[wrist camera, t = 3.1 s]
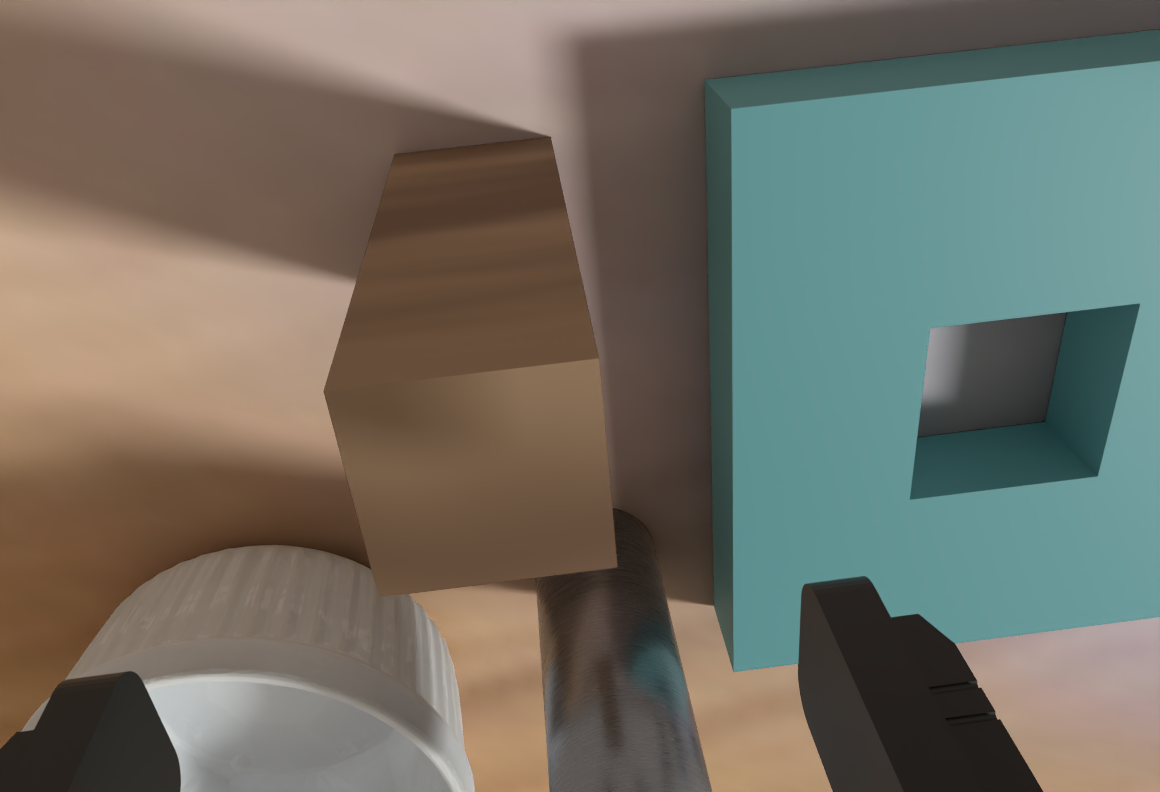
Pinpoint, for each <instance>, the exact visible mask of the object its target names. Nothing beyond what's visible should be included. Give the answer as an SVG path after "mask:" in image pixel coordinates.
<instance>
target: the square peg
mask: <svg viewBox="0 0 1160 792" xmlns="http://www.w3.org/2000/svg"><path fill="white" fill-rule="evenodd" d="M324 395H325V398H326V402H327V406H328V410H329V413H330V417H331V421H332V425H333V428H334V432H335V436H336V439H337V443H338V447H339V451H340V454H341V458H342V462H343V466H344V469H345V473H346V477H347V480H348V484H349V488H350V492H351V495H352V499H353V503H354V507H355V510H356V514H357V518H358V521H359V525H360V529H361V533H362V536H363V540H364V544H365V548H366V551H367V555H368V559H369V562H370V566H371V570H372V574H373V577H374V581H375V585H376V589H377V592H378V596H379V597H386V596H394V595H402V594H410V593H418V592H426V591H434V590H442V589H450V588H458V587H466V586H474V585H482V584H490V583H498V582H506V581H514V580H521V579H529V578H537V577H545V576H553V575H561V574H569V573H577V572H585V571H593V570H601V569H609V568H617V567H618V566H617V555H616V544H615V532H614V521H613V510H612V499H611V487H610V476H609V465H608V453H607V442H606V431H605V419H604V408H603V397H602V386H601V374H600V363H599V356H598V351H597V347H596V342H595V337H594V333H593V328H592V324H591V319H590V315H589V310H588V306H587V301H586V296H585V292H584V287H583V283H582V278H581V274H580V269H579V264H578V260H577V255H576V251H575V246H574V242H573V237H572V232H571V228H570V223H569V219H568V214H567V210H566V205H565V201H564V196H563V191H562V187H561V182H560V178H559V173H558V169H557V164H556V159H555V155H554V150H553V146H552V141H551V137H545V138H537V139H528V140H519V141H510V142H501V143H492V144H483V145H474V146H465V147H456V148H448V149H439V150H430V151H421V152H412V153H403V154H395V155H394V158H393V161H392V165H391V168H390V171H389V175H388V178H387V181H386V185H385V188H384V191H383V195H382V198H381V201H380V205H379V208H378V211H377V215H376V218H375V221H374V225H373V228H372V231H371V235H370V238H369V241H368V245H367V248H366V251H365V255H364V258H363V261H362V265H361V268H360V271H359V275H358V278H357V281H356V285H355V288H354V291H353V295H352V298H351V301H350V305H349V308H348V311H347V315H346V318H345V321H344V325H343V328H342V331H341V335H340V338H339V341H338V345H337V348H336V351H335V355H334V358H333V361H332V365H331V368H330V371H329V375H328V378H327V381H326V385H325V388H324Z"/></svg>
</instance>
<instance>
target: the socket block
mask: <svg viewBox="0 0 1160 792" xmlns="http://www.w3.org/2000/svg"><path fill="white" fill-rule="evenodd" d="M705 133H706V187H707V242H708V296H709V350H710V405H711V459H712V514H713V568H714V608H715V611H716V615H717V618H718V621H719V625H720V628H721V631H722V635H723V638H724V641H725V645H726V648H727V651H728V655H729V658H730V662H731V665H732V668H733V672H738V671H745V670H753V669H761V668H769V667H776V666H784V665H792V664H798V659H799V635H800V611H801V592H802V588H803V586H804V584H807V583H815V582H822V581H830V580H837V579H845V578H852V577H860V576H866V577H867V578H869V579H870V581H871V582H872V583H873V585H874V587H875V588H876V590H877V592H878V594H879V596H880V598H881V600H882V602H883V603H884V605H885V607H886V609H887V611H888V613H889V615H890V616H891V617H897V616H905V615H912V614H919V615H921V616H922V617H923V618H924V619H926V620H927V621H928V622H929V623H930V624H932V625H933V626H934V627H935V628H937V629H938V630H939V631H940V632H941V633H943V634H944V635H945V636H946V637H948V638H949V639H950V640H951V641H952V642H954V643H962V642H970V641H978V640H985V639H993V638H1001V637H1008V636H1016V635H1024V634H1032V633H1039V632H1047V631H1055V630H1063V629H1070V628H1078V627H1086V626H1094V625H1101V624H1109V623H1117V622H1125V621H1132V620H1140V619H1148V618H1155V617H1160V29H1158V30H1149V31H1140V32H1131V33H1122V34H1113V35H1104V36H1095V37H1086V38H1077V39H1068V40H1059V41H1050V42H1041V43H1032V44H1023V45H1014V46H1005V47H996V48H987V49H978V50H969V51H960V52H951V53H942V54H933V55H924V56H915V57H906V58H897V59H888V60H879V61H870V62H861V63H852V64H843V65H834V66H825V67H816V68H807V69H798V70H789V71H780V72H771V73H762V74H753V75H744V76H735V77H726V78H717V79H708V80H705ZM1063 312H1067V316H1066V321H1065V326H1064V331H1063V336H1062V341H1061V346H1060V351H1059V356H1058V361H1057V366H1056V371H1055V376H1054V380H1053V385H1052V390H1051V395H1050V400H1049V405H1048V410H1047V415H1046V420H1045V422H1040V423H1032V424H1024V425H1015V426H1007V427H999V428H991V429H983V430H975V431H966V432H958V433H950V434H942V435H934V436H926V437H918V438H917V435H918V426H919V418H920V410H921V401H922V393H923V384H924V376H925V368H926V359H927V351H928V342H929V334H930V328H938V327H946V326H955V325H963V324H971V323H980V322H988V321H996V320H1005V319H1013V318H1022V317H1030V316H1038V315H1047V314H1055V313H1063Z"/></svg>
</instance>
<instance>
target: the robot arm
mask: <svg viewBox="0 0 1160 792" xmlns="http://www.w3.org/2000/svg"><path fill="white" fill-rule="evenodd" d="M798 680H799V689H800V695H801V701H802V705H803V709H804V713H805V717H806V720H807V723H808V726H809V729H810V731H811V734H812V737H813V739H814V742H815V745H816V748H817V750H818V753H819V756H820V758H821V761H822V764H823V766H824V769H825V772H826V774H827V777H828V780H829V782H830V785H831V788H832V790H833V792H1043V790H1042V789H1041V787H1040V785H1039V784H1038V782H1037V780H1036V779H1035V777H1034V775H1033V774H1032V772H1031V770H1030V769H1029V767H1028V765H1027V764H1026V762H1025V760H1024V759H1023V757H1022V755H1021V754H1020V752H1019V750H1018V749H1017V747H1016V745H1015V743H1014V742H1013V740H1012V738H1011V737H1010V735H1009V733H1008V732H1007V730H1006V728H1005V727H1004V725H1003V723H1002V722H1001V720H1000V719H999V720H998V719H997V718H996V715H995V710H994V708H993V707H992V705H991V703H990V702H989V700H988V698H987V697H986V695H985V693H984V692H983V690H982V688H978V685H977V680H976V678H975V677H974V675H973V673H972V671H971V670H970V668H969V666H968V665H967V663H966V661H965V660H964V658H963V656H962V655H961V653H960V651H959V650H958V648H957V646H956V645H955V643H954V642H952V641H951V640H950V639H949V638H948V637H946V636H945V635H944V634H943V633H941V632H940V631H939V630H938V629H937V628H935V627H934V626H933V625H932V624H930V623H929V622H928V621H927V620H926V619H924V618H923V617H922V616H921V615H919V614H912V615H905V616H897V617H891V616H890V615H889V613H888V611H887V609H886V607H885V605H884V603H883V602H882V600H881V598H880V596H879V594H878V592H877V590H876V588H875V587H874V585H873V583H872V582H871V581H870V579H869V578H867V577H866V576H860V577H852V578H845V579H837V580H830V581H822V582H815V583H807V584H804V586H803V588H802V592H801V611H800V635H799V659H798ZM180 791H181V772H180V764H179V759H178V756H177V753H176V751H175V748H174V746H173V744H172V742H171V740H170V738H169V736H168V734H167V731H166V729H165V727H164V725H163V723H162V721H161V719H160V717H159V715H158V712H157V710H156V708H155V706H154V704H153V702H152V700H151V698H150V696H149V693H148V691H147V689H146V687H145V685H144V683H143V681H142V679H141V678H140V677H139V675H138V674H136V673H135V672H132V671H127V672H119V673H112V674H104V675H97V676H89V677H82V678H74V679H67V680H65V681H63V682H61V683H60V684H59V685H58V686H57V687H56V689H55V690H54V692H53V693H52V695H51V697H50V699H49V701H48V703H47V705H46V707H45V709H44V711H43V713H42V715H41V717H40V719H39V721H38V723H37V725H36V727H35V729H34V730H30V731H22V732H16V733H15V735H14V736H13V737H12V738H11V739H10V740H9V741H8V742H7V743H6V744H5V745H4V746H3V747H2V748H1V749H0V792H180Z"/></svg>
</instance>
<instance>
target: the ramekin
mask: <svg viewBox="0 0 1160 792" xmlns="http://www.w3.org/2000/svg"><path fill="white" fill-rule="evenodd" d="M127 671H132V672H135V673H136V674H138V675H139V677H140V678H141V679H142V681H143V683H144V685H145V687H146V689H147V691H148V693H149V696H150V698H151V700H152V702H153V704H154V706H155V708H156V710H157V712H158V715H159V717H160V719H161V721H162V723H163V725H164V727H165V729H166V731H167V734H168V736H169V738H170V740H171V742H172V744H173V746H174V748H175V751H176V753H177V756H178V759H179V764H180V772H181V791H180V792H475V788H474V781H473V775H472V771H471V767H470V764H469V762H468V759H467V756H466V754H465V751H464V739H463V728H462V718H461V708H460V699H459V691H458V685H457V681H456V677H455V671H454V666H453V662H452V660H451V657H450V655H449V651H448V647H447V644H446V642H445V640H444V639H443V637H442V636H441V635H440V634H439V630H438V628H437V626H436V624H435V623H434V622H433V621H432V620H431V619H430V618H429V617H428V616H427V614H426V612H425V610H424V609H423V608H422V607H421V606H420V605H419V604H418V603H417V602H416V601H414V600H413V598H412V597H411V596H410V594H402V595H394V596H386V597H379V596H378V592H377V589H376V585H375V581H374V577H373V574H372V570H371V569H370V568H368V567H366V566H364V565H362V564H360V563H357V562H355V561H353V560H350V559H347V558H345V557H342V556H339V555H336V554H333V553H329V552H325V551H321V550H316V549H310V548H305V547H297V546H287V545H257V546H247V547H239V548H230V549H225V550H221V551H218V552H213V553H208V554H203V555H201V556H199V557H197V558H194V559H191V560H188V561H184V562H180V563H179V564H177V565H175V566H174V567H172V568H170V569H167V570H165V571H162V572H160V573H159V574H157V575H156V576H155V577H153V578H152V579H151V580H149V581H147V582H145V583H144V584H142V585H141V586H139V587H138V588H137V589H136V590H135V591H134V592H133V593H132V594H131V595H130V596H129V597H127V598H126V599H125V600H124V601H123V602H122V603H121V604H120V605H119V606H118V607H117V608H116V609H115V611H114V612H113V613H112V615H111V616H110V618H109V619H108V620H107V622H106V623H105V624H104V626H103V627H102V628H101V630H100V631H99V632H98V634H97V635H96V637H95V638H94V639H93V640H92V642H91V643H90V644H89V646H88V647H87V649H86V650H85V651H84V653H83V654H82V656H81V657H80V659H79V660H78V662H77V663H76V664H75V666H74V667H73V669H72V670H71V672H70V673H69V674H68V676H67V677H66V679H65V680H67V679H74V678H82V677H89V676H97V675H104V674H112V673H119V672H127ZM65 680H64V681H65ZM50 697H51V696H50ZM50 697H49V698H48V699H47V700H46V701H45V702H44V703H43V704H42V705H41V706H40V707H39V708H38V709H37V710H36V712H35V713H34V714H33V715H32V716H31V718H30V719H29V720H28V722H27V723H26V725H25V726H24V728H23V729H22V731H30V730H34V729H35V727H36V725H37V723H38V721H39V719H40V717H41V715H42V713H43V711H44V709H45V707H46V705H47V703H48V701H49V699H50ZM22 731H21V732H22Z"/></svg>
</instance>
